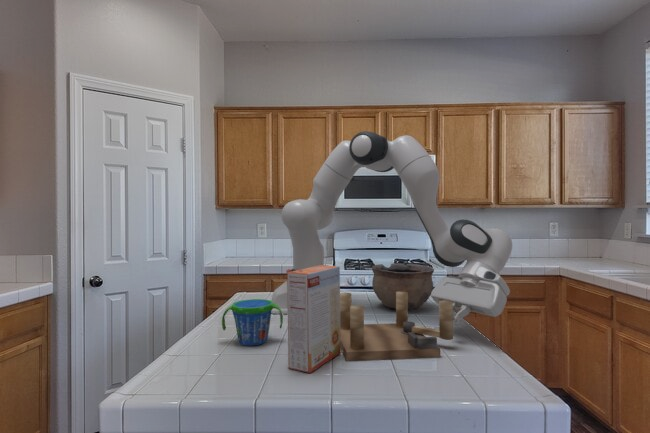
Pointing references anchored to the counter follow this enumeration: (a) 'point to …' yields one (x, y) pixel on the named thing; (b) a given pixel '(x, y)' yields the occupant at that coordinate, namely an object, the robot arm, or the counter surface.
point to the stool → (381, 335)
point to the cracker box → (313, 317)
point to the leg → (444, 323)
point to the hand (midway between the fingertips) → (452, 320)
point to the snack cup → (252, 320)
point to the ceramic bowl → (402, 283)
